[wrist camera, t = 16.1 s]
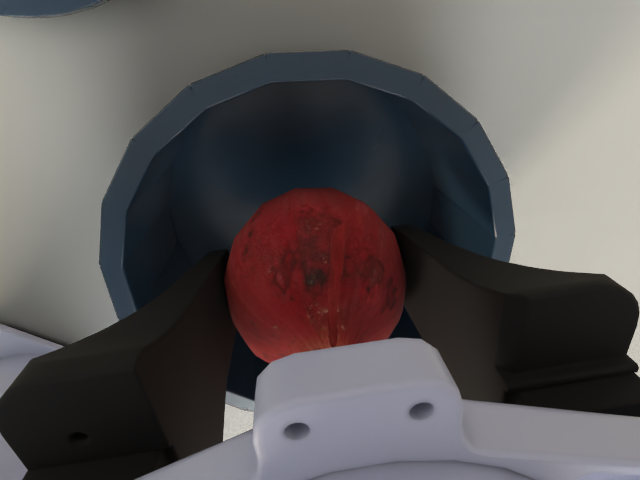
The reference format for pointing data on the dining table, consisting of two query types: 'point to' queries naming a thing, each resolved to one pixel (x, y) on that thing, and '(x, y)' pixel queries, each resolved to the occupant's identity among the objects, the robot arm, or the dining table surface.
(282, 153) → the pot
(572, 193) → the dining table surface
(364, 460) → the robot arm
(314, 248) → the red round fruit
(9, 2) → the pot lid
